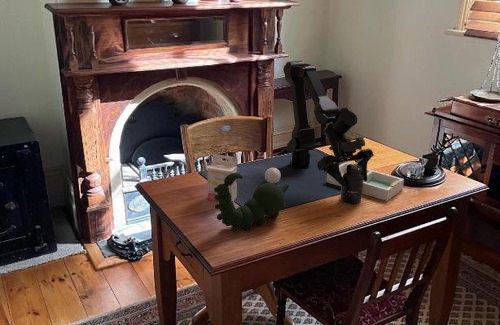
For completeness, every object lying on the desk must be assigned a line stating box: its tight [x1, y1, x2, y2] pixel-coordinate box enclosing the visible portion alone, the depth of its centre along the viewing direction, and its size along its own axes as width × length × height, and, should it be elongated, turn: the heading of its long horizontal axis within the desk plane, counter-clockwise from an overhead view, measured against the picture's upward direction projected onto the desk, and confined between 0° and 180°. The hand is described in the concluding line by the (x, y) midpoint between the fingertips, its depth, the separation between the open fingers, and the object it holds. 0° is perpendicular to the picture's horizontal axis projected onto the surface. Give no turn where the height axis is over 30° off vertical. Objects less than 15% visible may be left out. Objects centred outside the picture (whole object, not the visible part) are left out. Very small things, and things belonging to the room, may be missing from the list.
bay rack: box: [326, 162, 405, 202], centre depth 173 cm, size 23×12×4 cm, turn 50°
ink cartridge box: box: [207, 153, 238, 203], centre depth 160 cm, size 9×5×15 cm, turn 71°
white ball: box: [264, 167, 282, 184], centre depth 174 cm, size 8×6×6 cm
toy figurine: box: [214, 172, 290, 233], centre depth 145 cm, size 10×19×26 cm
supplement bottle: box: [339, 163, 364, 205], centre depth 161 cm, size 7×7×12 cm
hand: (355, 183), depth 159 cm, fingers open, 8 cm apart
